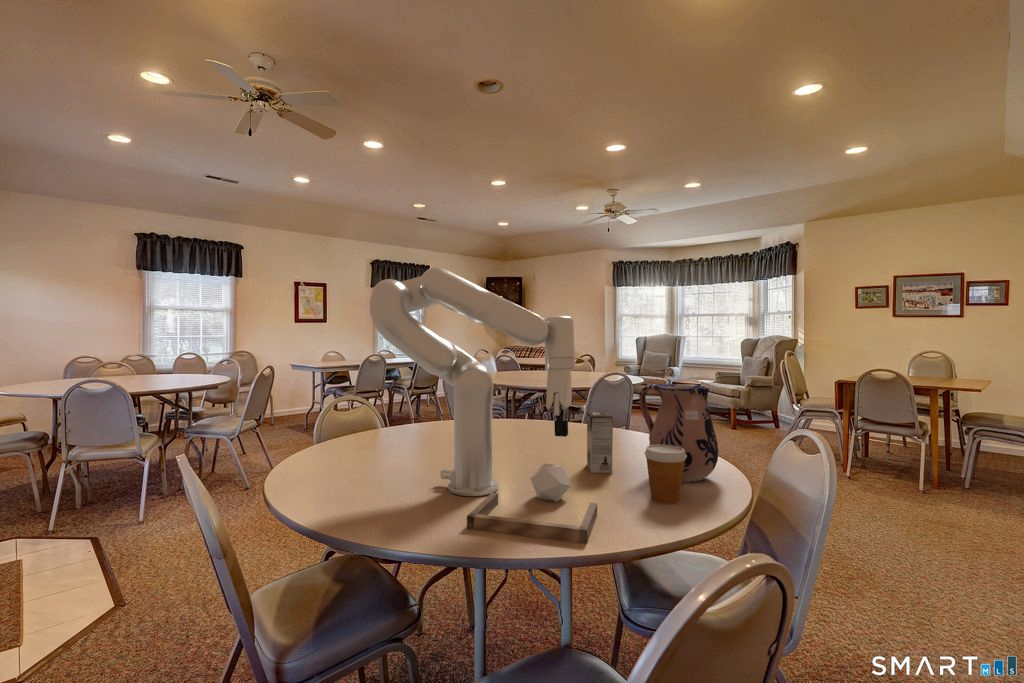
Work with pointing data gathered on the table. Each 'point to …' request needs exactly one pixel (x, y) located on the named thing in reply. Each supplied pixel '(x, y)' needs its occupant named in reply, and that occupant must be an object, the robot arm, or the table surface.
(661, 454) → the disposable coffee cup
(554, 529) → the wooden u-shaped frame
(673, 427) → the ceramic pitcher
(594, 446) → the coffee box
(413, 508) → the table surface
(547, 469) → the die
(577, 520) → the table surface
